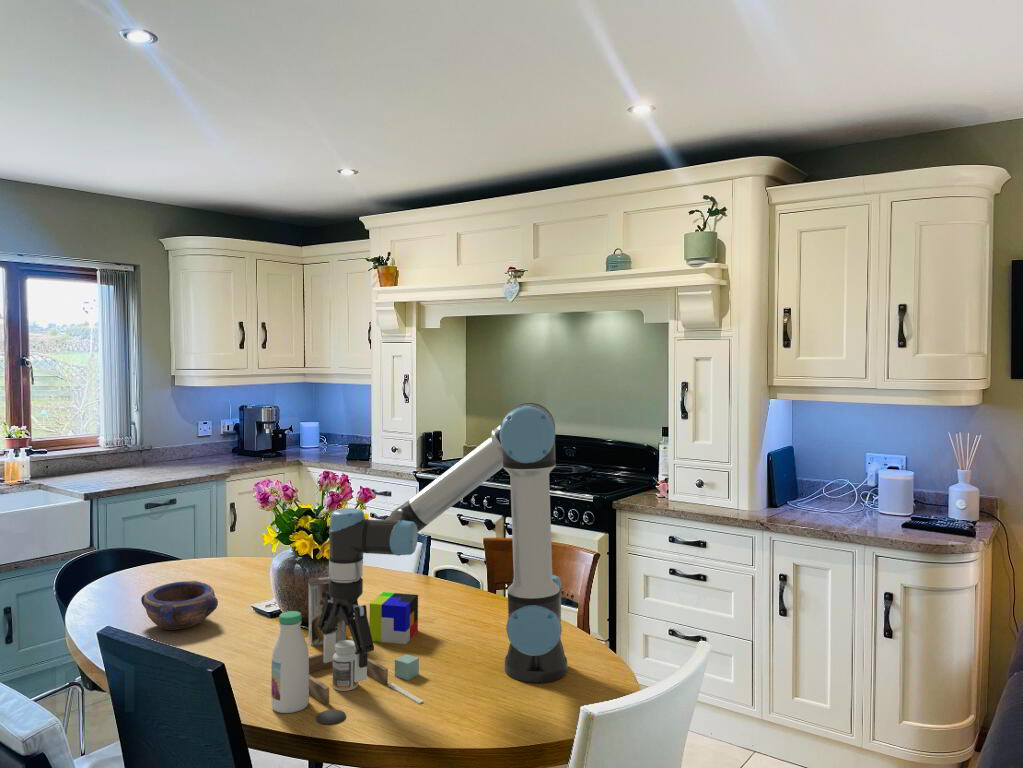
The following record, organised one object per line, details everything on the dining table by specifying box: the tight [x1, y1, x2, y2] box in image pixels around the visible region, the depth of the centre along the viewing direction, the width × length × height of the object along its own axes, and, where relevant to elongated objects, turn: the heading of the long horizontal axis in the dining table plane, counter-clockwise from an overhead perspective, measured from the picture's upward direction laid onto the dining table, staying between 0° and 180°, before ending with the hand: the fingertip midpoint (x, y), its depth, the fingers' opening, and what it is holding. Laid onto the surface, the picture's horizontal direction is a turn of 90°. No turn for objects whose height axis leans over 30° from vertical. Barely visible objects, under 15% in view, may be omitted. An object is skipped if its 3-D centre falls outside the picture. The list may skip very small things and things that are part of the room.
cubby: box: [309, 651, 389, 706], centre depth 177 cm, size 18×16×4 cm
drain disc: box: [315, 709, 347, 725], centre depth 159 cm, size 6×6×1 cm
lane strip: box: [387, 682, 424, 705], centre depth 171 cm, size 12×1×1 cm, turn 43°
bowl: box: [140, 580, 219, 631], centre depth 211 cm, size 18×18×10 cm
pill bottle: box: [332, 639, 359, 692], centre depth 174 cm, size 6×6×10 cm
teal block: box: [394, 653, 420, 681], centre depth 180 cm, size 4×4×4 cm
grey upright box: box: [307, 575, 347, 647], centre depth 202 cm, size 9×6×16 cm
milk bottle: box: [270, 610, 310, 714], centre depth 164 cm, size 8×8×20 cm
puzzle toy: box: [368, 591, 419, 645], centre depth 205 cm, size 10×10×10 cm
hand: (344, 670), depth 174 cm, fingers open, 13 cm apart
